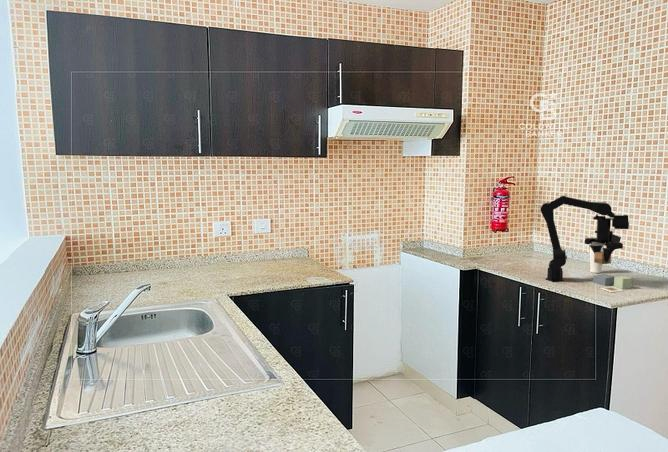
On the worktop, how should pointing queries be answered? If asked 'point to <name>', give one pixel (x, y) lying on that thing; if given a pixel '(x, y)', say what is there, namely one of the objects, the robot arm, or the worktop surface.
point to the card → (611, 289)
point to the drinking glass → (595, 266)
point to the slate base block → (603, 279)
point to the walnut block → (601, 258)
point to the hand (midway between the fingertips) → (602, 260)
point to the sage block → (622, 282)
